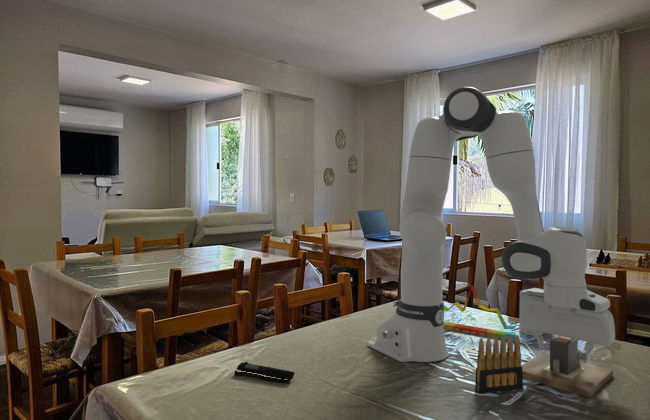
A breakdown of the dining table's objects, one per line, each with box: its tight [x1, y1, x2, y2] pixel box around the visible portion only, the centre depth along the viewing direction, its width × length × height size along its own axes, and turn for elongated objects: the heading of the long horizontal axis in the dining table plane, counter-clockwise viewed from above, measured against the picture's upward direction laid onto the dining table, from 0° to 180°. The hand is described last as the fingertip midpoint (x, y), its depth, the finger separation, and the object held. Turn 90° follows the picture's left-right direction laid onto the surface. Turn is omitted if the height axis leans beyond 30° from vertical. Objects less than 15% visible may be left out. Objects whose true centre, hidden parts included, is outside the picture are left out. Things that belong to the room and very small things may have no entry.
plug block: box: [549, 335, 579, 375], centre depth 105 cm, size 4×6×7 cm, turn 132°
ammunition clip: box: [474, 334, 524, 395], centre depth 98 cm, size 11×2×12 cm, turn 101°
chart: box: [443, 285, 517, 343], centre depth 139 cm, size 30×3×15 cm, turn 54°
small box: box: [518, 287, 549, 337], centre depth 137 cm, size 8×6×13 cm
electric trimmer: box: [234, 361, 295, 383], centre depth 105 cm, size 4×16×3 cm, turn 66°
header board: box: [521, 350, 614, 399], centre depth 105 cm, size 16×16×5 cm
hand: (563, 354), depth 105 cm, fingers open, 8 cm apart
